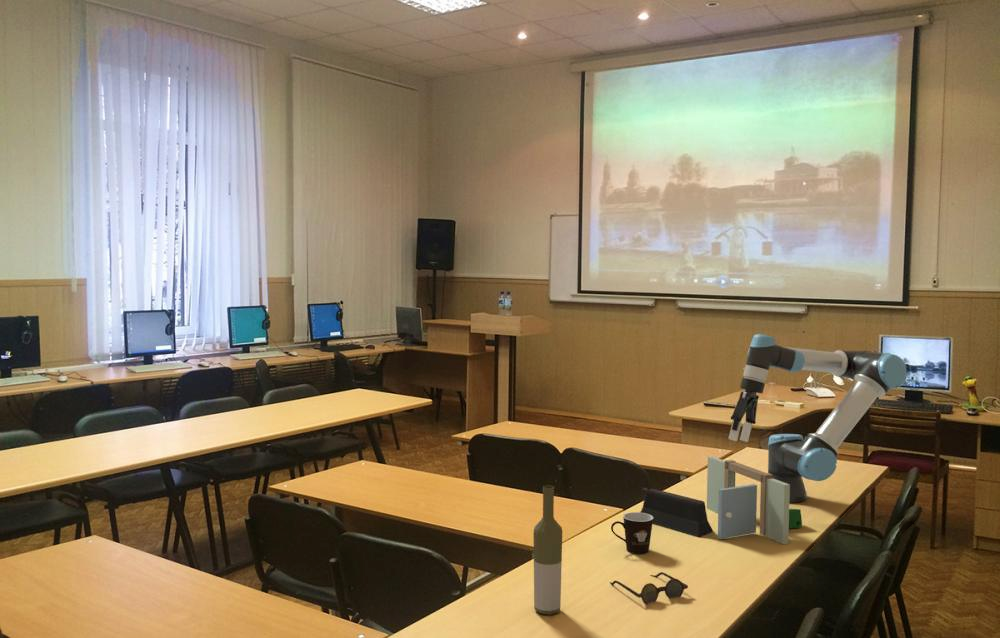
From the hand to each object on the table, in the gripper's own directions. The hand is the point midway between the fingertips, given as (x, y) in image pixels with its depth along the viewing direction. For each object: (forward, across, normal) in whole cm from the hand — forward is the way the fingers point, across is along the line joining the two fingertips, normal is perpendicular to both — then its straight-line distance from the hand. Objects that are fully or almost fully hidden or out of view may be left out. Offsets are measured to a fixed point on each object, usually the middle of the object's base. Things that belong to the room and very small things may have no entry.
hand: (738, 440), depth 255 cm
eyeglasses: (+39, +70, +6) cm, 80 cm away
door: (+27, +18, +12) cm, 35 cm away
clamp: (+23, 0, +20) cm, 30 cm away
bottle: (+46, +95, -8) cm, 106 cm away
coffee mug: (+37, +46, -9) cm, 60 cm away
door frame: (+25, +6, +11) cm, 28 cm away
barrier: (+31, +18, -8) cm, 37 cm away
